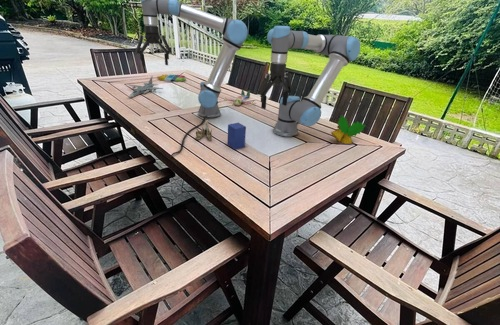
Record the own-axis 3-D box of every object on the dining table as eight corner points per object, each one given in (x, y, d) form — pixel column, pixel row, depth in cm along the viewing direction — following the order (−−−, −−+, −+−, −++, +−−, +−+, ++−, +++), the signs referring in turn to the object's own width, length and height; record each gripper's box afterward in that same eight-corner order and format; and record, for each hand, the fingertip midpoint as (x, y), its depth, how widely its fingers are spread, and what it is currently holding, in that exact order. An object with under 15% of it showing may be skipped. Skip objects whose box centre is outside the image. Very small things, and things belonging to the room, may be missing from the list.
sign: (184, 80, 268) (154, 78, 265) (184, 82, 269) (154, 80, 266) (187, 75, 290) (160, 74, 287) (187, 76, 291) (160, 75, 288)
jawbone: (214, 123, 159) (213, 113, 150) (213, 145, 152) (211, 136, 143) (199, 123, 159) (196, 113, 150) (197, 144, 152) (194, 135, 143)
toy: (261, 91, 228) (254, 99, 202) (261, 99, 231) (253, 108, 205) (231, 87, 233) (220, 95, 207) (230, 95, 236) (219, 104, 210)
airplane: (122, 88, 234) (120, 76, 229) (158, 85, 247) (157, 74, 242) (127, 100, 206) (124, 88, 201) (167, 97, 219) (166, 85, 214)
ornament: (349, 145, 167) (356, 122, 165) (358, 147, 159) (366, 123, 158) (324, 137, 159) (331, 113, 157) (333, 139, 151) (341, 114, 149)
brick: (237, 142, 150) (238, 122, 144) (244, 146, 145) (246, 126, 139) (227, 144, 146) (227, 124, 140) (234, 149, 141) (235, 129, 135)
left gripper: (170, 25, 155) (173, 63, 165) (125, 24, 142) (131, 65, 152) (175, 26, 150) (177, 65, 160) (129, 25, 136) (135, 67, 147)
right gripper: (292, 60, 132) (287, 101, 142) (252, 62, 119) (249, 107, 130) (303, 62, 126) (297, 105, 137) (261, 65, 114) (258, 112, 124)
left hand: (155, 65), depth 156 cm, fingers open, 13 cm apart
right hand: (274, 106), depth 133 cm, fingers open, 13 cm apart
